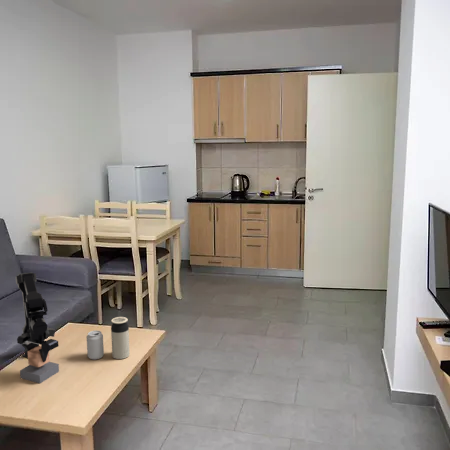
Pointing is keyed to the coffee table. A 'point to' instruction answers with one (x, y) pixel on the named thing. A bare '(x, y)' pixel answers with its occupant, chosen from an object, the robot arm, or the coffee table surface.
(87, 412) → the coffee table surface
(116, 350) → the travel mug
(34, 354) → the terracotta cube
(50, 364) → the charcoal box
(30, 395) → the coffee table surface
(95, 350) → the can
